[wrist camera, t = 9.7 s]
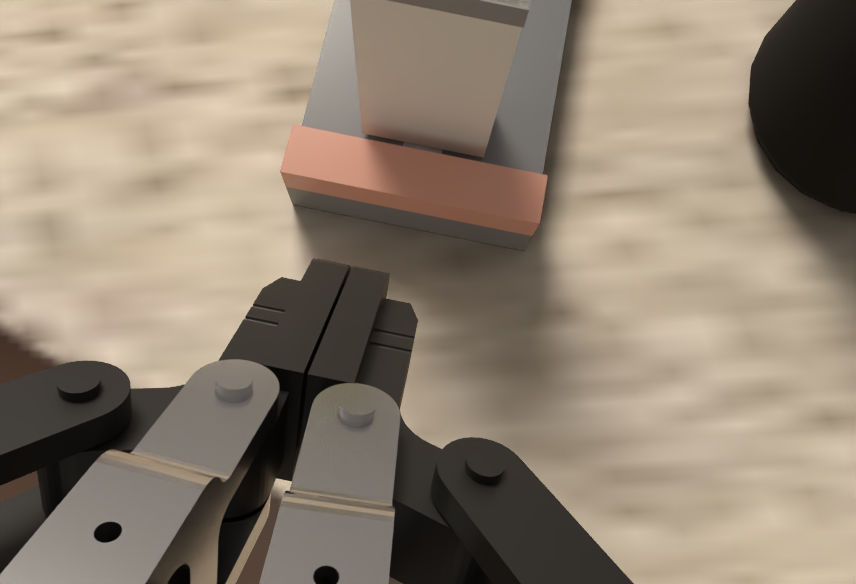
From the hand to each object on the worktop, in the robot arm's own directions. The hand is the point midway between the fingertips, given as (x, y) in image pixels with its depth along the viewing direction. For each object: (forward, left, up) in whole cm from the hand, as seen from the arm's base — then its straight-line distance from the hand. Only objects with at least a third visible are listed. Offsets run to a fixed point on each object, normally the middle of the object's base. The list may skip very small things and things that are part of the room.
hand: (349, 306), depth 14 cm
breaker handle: (+5, -10, -13) cm, 17 cm away
